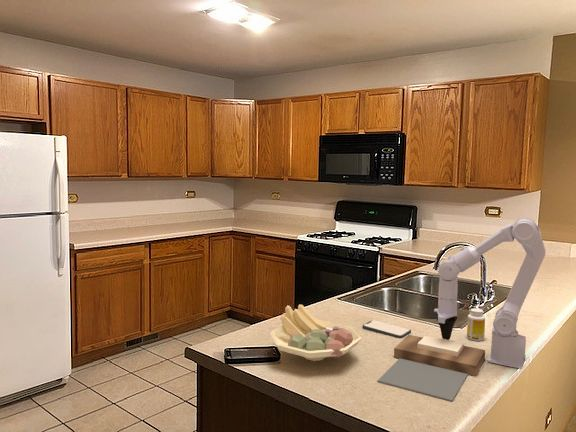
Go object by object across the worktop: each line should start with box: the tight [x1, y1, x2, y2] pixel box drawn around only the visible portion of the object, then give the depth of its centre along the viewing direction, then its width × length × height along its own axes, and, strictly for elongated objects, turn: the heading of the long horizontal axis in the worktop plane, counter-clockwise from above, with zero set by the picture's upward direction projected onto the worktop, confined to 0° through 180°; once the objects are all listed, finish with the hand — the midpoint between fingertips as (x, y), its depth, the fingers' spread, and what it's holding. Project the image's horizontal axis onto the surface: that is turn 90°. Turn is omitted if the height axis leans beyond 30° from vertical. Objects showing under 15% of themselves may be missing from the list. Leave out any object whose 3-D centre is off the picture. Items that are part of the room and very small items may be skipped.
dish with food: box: [269, 304, 362, 362], centre depth 144 cm, size 28×28×14 cm
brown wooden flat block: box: [393, 334, 486, 377], centre depth 144 cm, size 24×14×3 cm, turn 57°
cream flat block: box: [417, 335, 465, 357], centre depth 144 cm, size 12×8×2 cm, turn 57°
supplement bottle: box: [466, 307, 486, 342], centre depth 160 cm, size 6×6×10 cm
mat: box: [377, 358, 469, 402], centre depth 130 cm, size 20×18×1 cm
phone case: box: [362, 319, 412, 339], centre depth 169 cm, size 9×2×16 cm
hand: (446, 338), depth 150 cm, fingers closed
